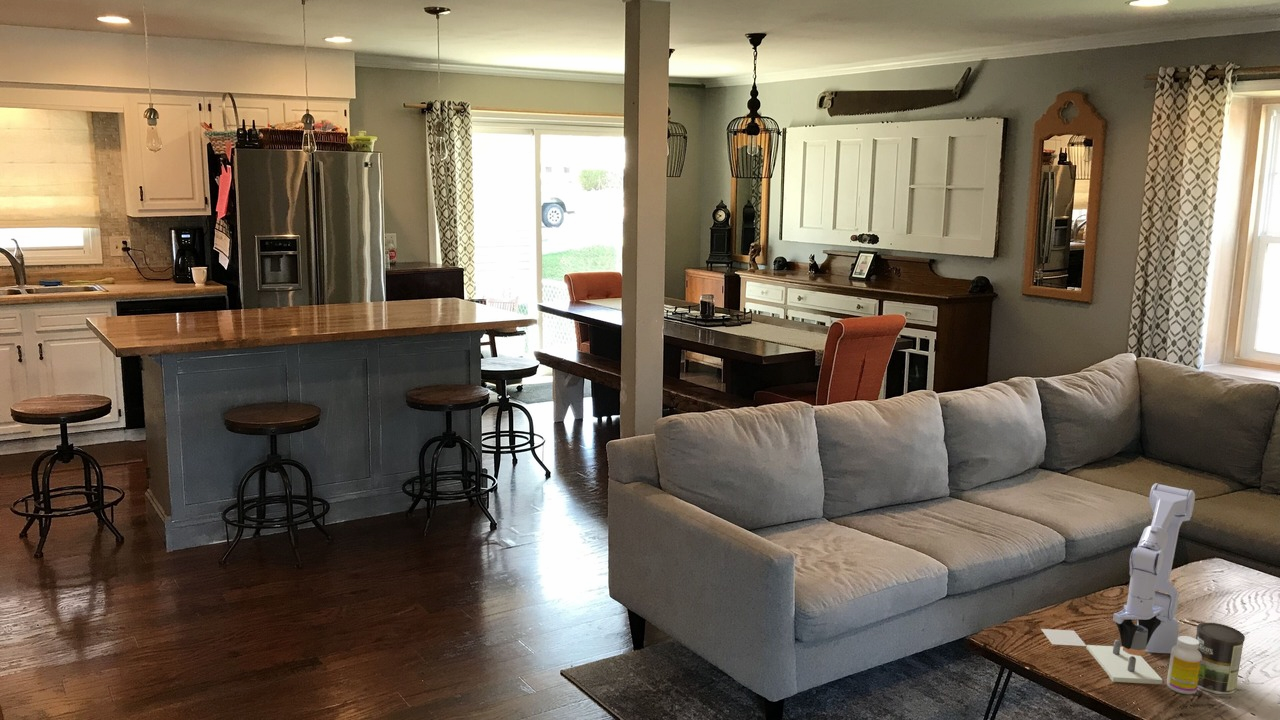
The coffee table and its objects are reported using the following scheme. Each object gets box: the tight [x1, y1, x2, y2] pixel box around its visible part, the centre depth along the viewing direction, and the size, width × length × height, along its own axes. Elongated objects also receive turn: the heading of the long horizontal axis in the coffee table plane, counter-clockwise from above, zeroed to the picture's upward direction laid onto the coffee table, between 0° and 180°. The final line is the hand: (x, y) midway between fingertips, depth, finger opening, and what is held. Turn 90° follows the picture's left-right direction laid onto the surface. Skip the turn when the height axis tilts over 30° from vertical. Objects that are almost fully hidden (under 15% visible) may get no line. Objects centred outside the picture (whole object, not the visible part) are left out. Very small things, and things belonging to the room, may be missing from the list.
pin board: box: [1085, 639, 1163, 685], centre depth 254 cm, size 12×17×5 cm
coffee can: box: [1195, 622, 1246, 696], centre depth 246 cm, size 10×10×14 cm
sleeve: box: [1122, 623, 1148, 657], centre depth 249 cm, size 5×5×6 cm
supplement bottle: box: [1166, 635, 1202, 695], centre depth 243 cm, size 7×7×13 cm
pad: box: [1040, 628, 1087, 647], centre depth 269 cm, size 9×9×1 cm
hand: (1134, 645), depth 249 cm, fingers closed on sleeve, 5 cm apart
